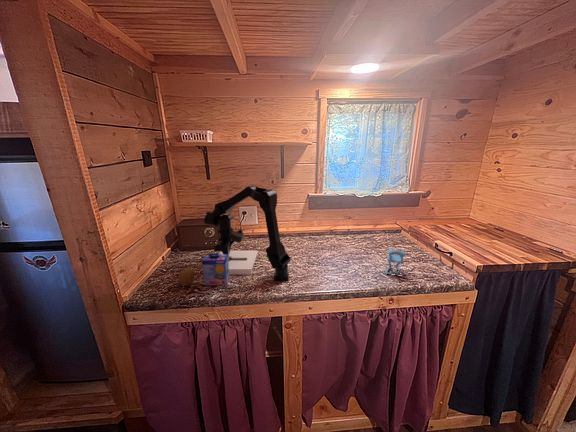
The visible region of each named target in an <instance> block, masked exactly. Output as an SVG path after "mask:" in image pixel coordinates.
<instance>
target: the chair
mask: <svg viewBox="0 0 576 432" xmlns="http://www.w3.org/2000/svg"><path fill="white" fill-rule="evenodd" d="M405 254H406V250H404V249H400V250H397V249H395V250H393V249H392V247H389V248H388V254H387V261H388V262H387V263H388V265H389V266H388V267H387V268H386V269H385V272H384V274H385V273H387V274H395V275H401V274H402V276H403V277H404V273H403V272H402V271H401V270H400V269H399V266H400V264H401V265H402V264H404V263H405V261H404V257H405ZM391 263H397V264H395V266H394V269H395V268H396V269H397V270H398V271H399V272H400V273H401V274H399V273H395V272H394V273H393V272H390V270H391V269H392V264H391ZM390 268H391V269H390ZM389 269H390V270H389ZM396 269H395V270H396ZM388 270H389V272H388Z"/></svg>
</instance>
